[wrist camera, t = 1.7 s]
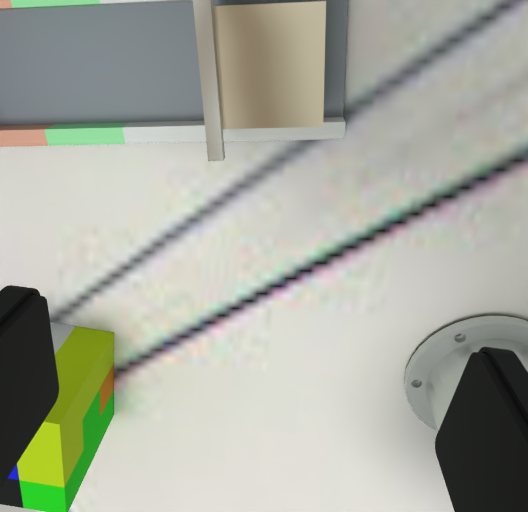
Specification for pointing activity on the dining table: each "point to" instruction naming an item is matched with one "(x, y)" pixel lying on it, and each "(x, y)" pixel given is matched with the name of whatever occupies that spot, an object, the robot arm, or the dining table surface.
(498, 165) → the dining table surface
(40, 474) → the puzzle toy
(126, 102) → the grey metal rail
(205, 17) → the beige rectangular block
